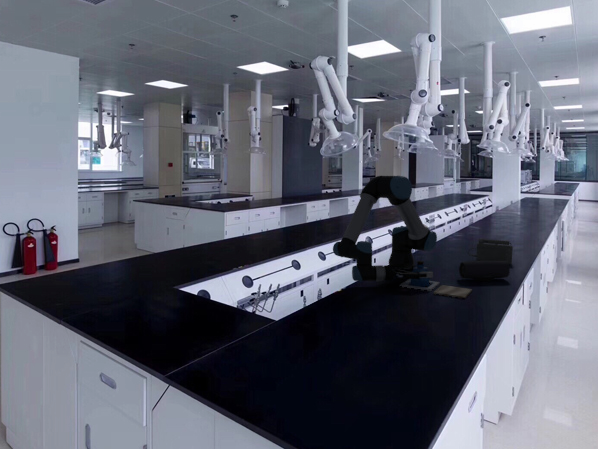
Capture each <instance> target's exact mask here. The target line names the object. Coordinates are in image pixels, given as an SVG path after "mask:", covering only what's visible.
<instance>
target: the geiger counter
mask: <svg viewBox="0 0 598 449" xmlns="http://www.w3.org/2000/svg"><path fill="white" fill-rule="evenodd" d="M477 241H478V242H477V243H476V254H470V251H471V250H474V249H475V247H472V248H470V249H469V250H468V251H467V254H468V256H471V257H472V258H473V257H474V258H475V259H476V260H475V261H506V262H507V263H508V265H512V264H513V247H514V246H513V245H512V243H511V242H510V240H501V239H500V240H499V239H485V238H481V237H480V238H478V240H477Z"/></svg>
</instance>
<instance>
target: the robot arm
mask: <svg viewBox="0 0 598 449" xmlns="http://www.w3.org/2000/svg"><path fill="white" fill-rule="evenodd" d="M412 187H413V185H412V182H411V180H410V179H409V178H408V177H407V176H404V175H402V176H401V175H377V176H375V177H372V178H371V179H370V180H369V181H368V182H367V184H366V185H364V187H363V188H362V190H361V192H360V194H359V197H360V198H359V201H358V203H357V205H356V208H355V210H354V212H353V214H352V217H351V218H350V221H349V222H348V224H347V227H346V229H345V231H344V233H343V235H342V237H341V240H340V241H336V242H335V243H333V246H332V252H333V254H334V255H335V256H337V257H340V258H346V259H351V260H356V265H353V266H352V268H351V276H352V277H351V278H352V280H353V281H354V282H377V283H379V281H380V282H382V281H383V282H384V281H385V282H386V281H387V282H389V281H390V282H392V281H393V280H394V278H398V279H399V280H402V279H404V280H405V279H407V280H408V279H418V280H420V278H429V279H430V278H431V279H432V278H434V272H433V271H428V272H419V273H417V272H412V271H413V269H414V268H415V267H414V266H415V258H414V255H413V250H415V251H421V252H432V251H433V250H434V249H435V247H436V245H437V241H438V236H437V233H436V232H435V231H433V230H430V229H429V227H428V226H427V225H426V224H424V223H423V221H422V220H421V218H420V215H419V213H418V212H417V209H416V207H415V206H414V204H413V201H412V200H411V195H412V192H413V188H412ZM380 199H387V200H388V202H389V204H390V205H392V206H393V207H395V208H396V210H397V212H398V214H399V217H400V218H401V219H402V221H403V224H404V226H403V225H402V226H396V227H393V228H392V231H391V232H392V233H391V252H390V256H389V258H388V265H387V264H385V265H373V244H372V242H371V241H367V240H366V241H365V240H361V241H358V240H359V238H360V236H361V233H362V231H363V229H364V226H365V224H366V222H367V220H368V218H369V215H370V213H371V211H372V209H373V206H374V205H375V204H377V203H378V200H380ZM393 266H394V267H393ZM423 268H426V269H427V270H428V267H425V266H424V267H423Z"/></svg>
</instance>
